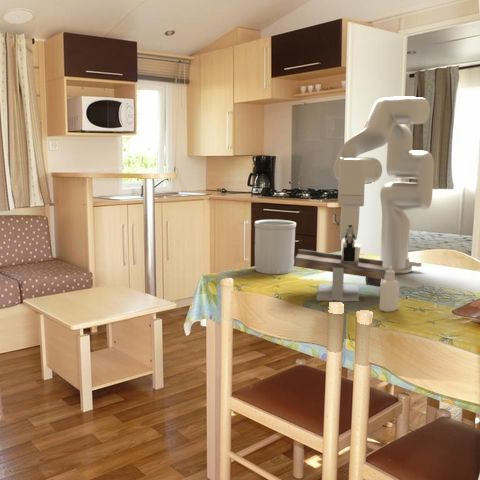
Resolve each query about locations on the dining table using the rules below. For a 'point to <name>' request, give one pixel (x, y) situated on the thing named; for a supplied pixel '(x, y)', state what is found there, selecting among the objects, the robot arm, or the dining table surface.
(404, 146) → the robot arm
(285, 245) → the utensil holder
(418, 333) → the dining table surface
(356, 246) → the rider
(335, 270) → the fulcrum
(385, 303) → the eye dropper bottle
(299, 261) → the beam
